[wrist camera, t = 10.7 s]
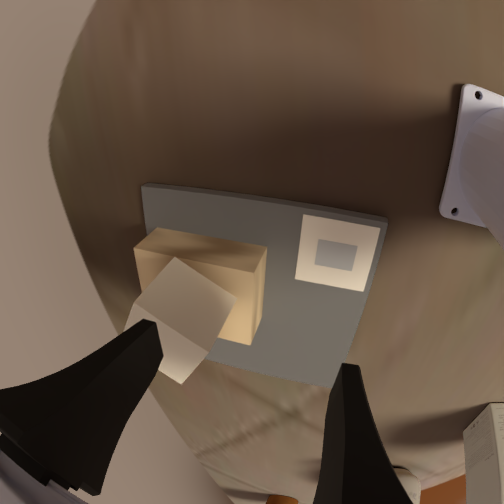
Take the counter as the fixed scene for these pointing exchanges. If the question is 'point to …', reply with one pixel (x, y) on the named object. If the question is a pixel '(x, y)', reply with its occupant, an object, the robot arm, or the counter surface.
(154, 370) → the robot arm
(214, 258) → the oak base brick
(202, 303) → the cream cube
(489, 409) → the small box
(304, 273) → the board
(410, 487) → the teacup
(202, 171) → the counter surface
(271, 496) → the disposable coffee cup
